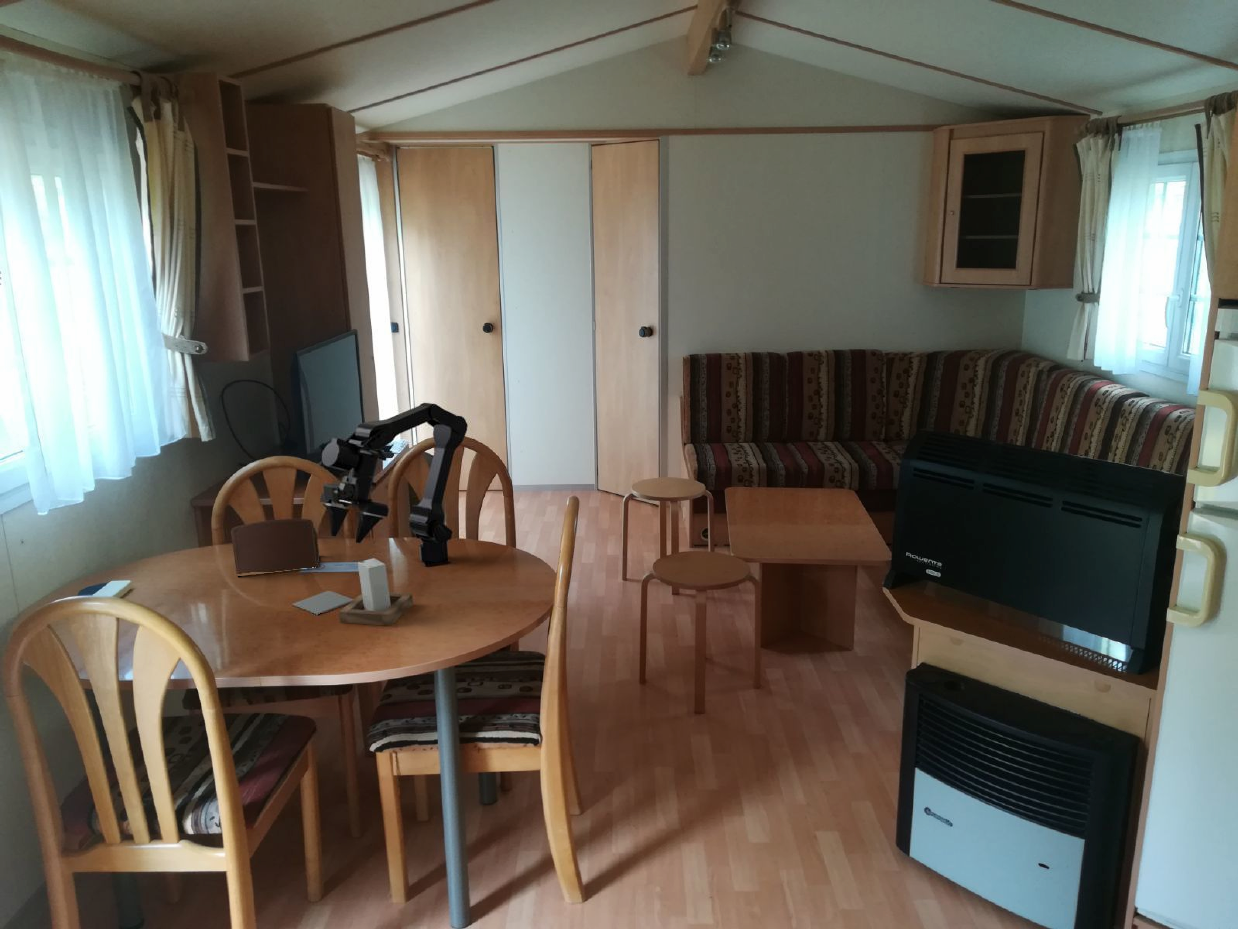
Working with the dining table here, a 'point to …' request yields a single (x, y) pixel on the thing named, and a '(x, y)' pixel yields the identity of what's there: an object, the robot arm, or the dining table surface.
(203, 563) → the dining table surface
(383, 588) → the skincare box
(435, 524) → the robot arm
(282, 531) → the letter holder
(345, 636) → the dining table surface
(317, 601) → the grey mat
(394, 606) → the walnut collar
